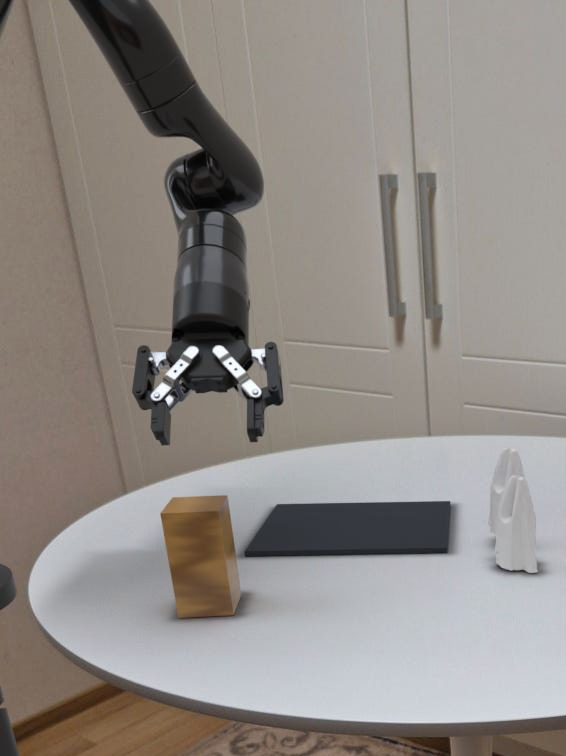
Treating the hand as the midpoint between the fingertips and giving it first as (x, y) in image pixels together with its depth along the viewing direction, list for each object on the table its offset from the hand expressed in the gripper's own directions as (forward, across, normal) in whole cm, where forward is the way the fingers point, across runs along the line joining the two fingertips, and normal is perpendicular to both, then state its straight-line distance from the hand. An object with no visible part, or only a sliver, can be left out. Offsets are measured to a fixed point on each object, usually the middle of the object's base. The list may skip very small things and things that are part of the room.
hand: (208, 439), depth 86 cm
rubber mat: (+1, +13, +18) cm, 23 cm away
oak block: (+16, 0, +3) cm, 17 cm away
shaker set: (+9, +30, +10) cm, 33 cm away
